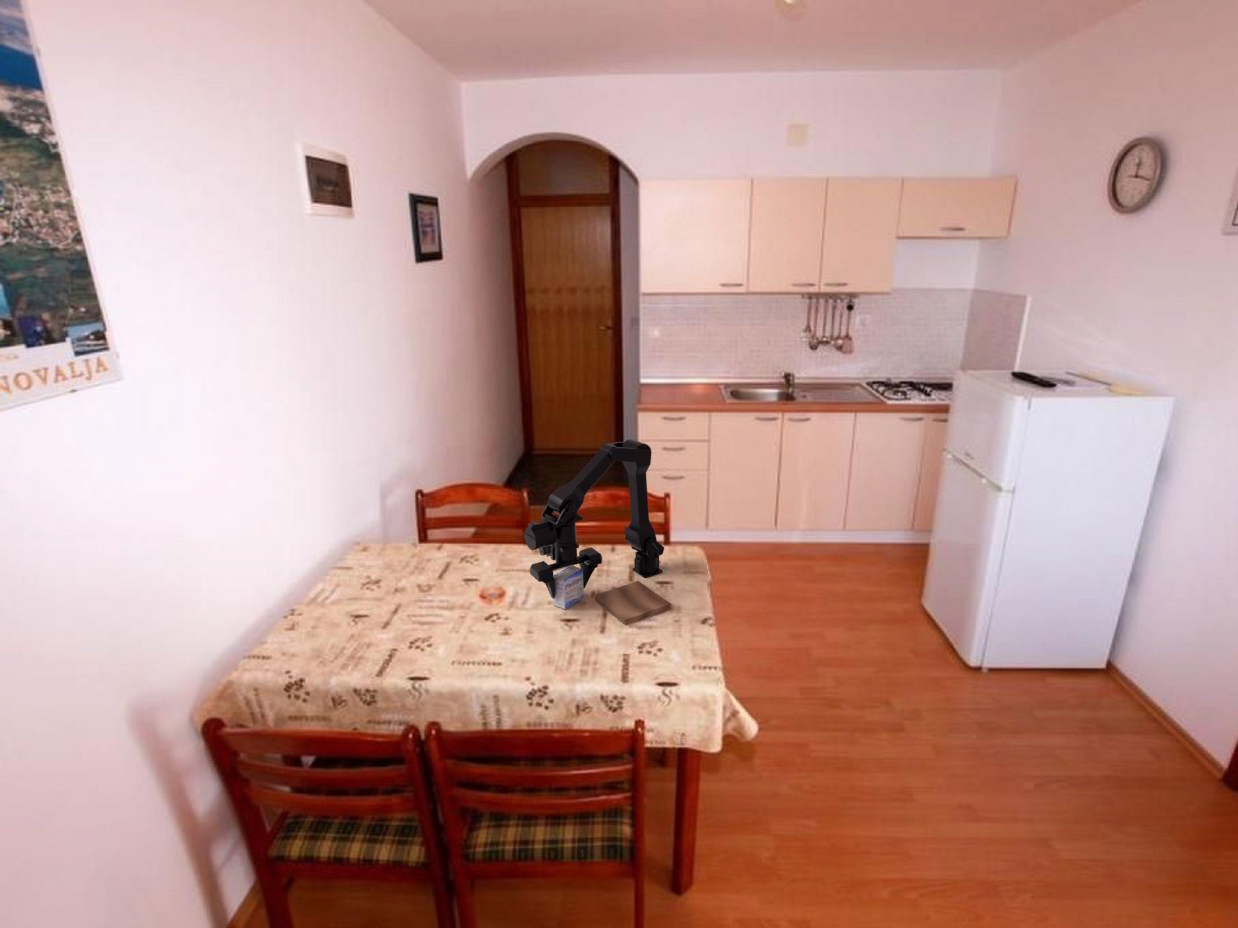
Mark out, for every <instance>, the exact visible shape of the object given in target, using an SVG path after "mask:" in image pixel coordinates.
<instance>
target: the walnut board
mask: <svg viewBox="0 0 1238 928" xmlns="http://www.w3.org/2000/svg"><path fill="white" fill-rule="evenodd" d="M594 601H595V602H596V603H598V604H599V606H601V607H602V608H603V609H605V610H606V611H607V612H609V613H610V614H611V615H612V616H613V617H615V618H616V619H617V620H618V621H620V622H621V623H622V624H623V625H624V626H627V625H630V624H632V623H636V622H638V621H640V620H641V621H642V620H644V619H646V618H648V617H649V618H650V617H652V616H654V615H657V614H660V613H663V612H666V611H668V610H670V609H671V608H672V603H671V602H669V601H668V600H667V599H666V598H663V597H662V596H661V595H660V594H658V593H657V592H655V591H654V590H653V589H651V588H650V587H648V586H646V585H645V584H643V583H642V582H640V580H636V581H634V582H630V583H628V584H625V585H624V584H623V585H620V586H618V587H616V588H612V589H609V590H606V591H603V592H601V593H598V594H594Z"/></svg>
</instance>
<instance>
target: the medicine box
mask: <svg viewBox="0 0 1238 928" xmlns="http://www.w3.org/2000/svg"><path fill="white" fill-rule="evenodd" d="M553 578H554V579H555V598H554V599H553V598H552V605H553V606H555V607H558V608H561V609H563V610H567V609H568V608H570V607H571V606H573V605H574V604H576V603H578V602H579V601H580V600H582V599H583V598H585V591H584V590H585V589H584V585H583V569H581V568H580V567H578V566H575V565H573V566H570V567H567V568H563V569H561V571H560V570H559V571H558V572H556V573H555V574H553Z"/></svg>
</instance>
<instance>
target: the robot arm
mask: <svg viewBox="0 0 1238 928" xmlns="http://www.w3.org/2000/svg"><path fill="white" fill-rule="evenodd" d="M652 453H653V452H652V449H651V446H649V445H648V444H647V443H644V442H641V441H638V440H635V439H632V438H630V439H625V441H621V442H620V441H615V442H613V443H605V444H603V445H601V446H600V448H599V450H598V451H597V452H596V454H595V455H594V456H593V457H592V458H591V459H590V460H589V462H588V463H586V464H585V466H584V467H583V468H582V469H581V470H580V471H579V472H578V473H577V475H575V476H574V478H573V479H572V480H570V481H569V482H566V483H564V484H562V485H560V486H559V487H557V489H556V490H554V491H553V492H552V493H551V494H550V495H549V497H548V499H547V500H548V501H547V503H546V506H545V507H544V509H543V511H542V513H541V514H540V518H542V519H541V520H538V521H532V522H529V523H528V524H527V528H525V530H524V531H525V532H524V537H523V538H524V540H525V544H526V546H527V547H528V549H529V550H530V551H536V550H538V552H539V554H540V556H546V557H547V558H550V560H552V561H555V562H553V563H550V564H548V563H547V562H546V561H545V560H543V561H538V562H536V563H532V564H531V565H530V567H529V574H530V575H531V576H532V578H534V579H536V580H537V582H539V583H543V584H544V585H545V586H546V588H547V591H548V593H549V595H550V597H551V599H552V600H553V599H554V598H555V579H554V578H553V575H554V572H556V571H560V570H564V569H565V568H567V567H570V566H575V565H576V566H577V565H579V568H581V569H583V585H584V590H585V589H586V587H587V585H588V582H589V580H590V579H591V577H592V575H593V573H594V571H595V570H596V569H597V568H599V565H601V564H603V555H602V554H601V553H600V552H599V551H598V550H596V549H595V548H593V547H592V546H591V547H587V548H584V549H580V550H579V551H578V549H579V548H580V544H579V543H578V542H577V525H576V523H578V522H580V521H583V520H584V518H583V517H582V516H580V515H579V514H578V512H579V510H580V508H581V507H582V505H584V501H585V498H586V495H587V493H588V492H589V491H590V490H591V489H592V487H593V486H595V484H596V483H597V482H598V481H599V480H600V479H601V478H602V476H603V475H604V474H605V473H606V472H607V471H608V470H609V469H610V467H612V465H613V464H614V463H615V462H621V463H622V465H623V467H624V468H625V470H626V472H627V476H628V488H629V500H630V503H629V504H630V516H631V517H630V518H631V519H630V522H629V524H628V526H625V527H624V532H625V535H624V540H626V542H627V544H628V545H629V546H630V547H631V549H632V550H634V551H635V552H634V553H635V556H634V560H633V561H634V562H633V563H634V567H632V571H634V572H635V573H637V574H638V575H640V576H641V577H642V578H645V579H646V578H649V577H653V576H656V575H658V574H661V573H663V569H661V568H660V556H662V555H663V554H664V551H665V547H664V546H663V544H661V543H660V542H658V541H657V540H658V539H657V534H656V531H655V529H654V526H653V525H652V522H651V521H650V514H649V511H650V510H649V499H648V498H649V496H648V483H647V482H648V481H647V472H648V470H649V467H650V466H651V463H652ZM553 513H555V514H557V515H559V517H558V516H556V515H554V514H553Z"/></svg>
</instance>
